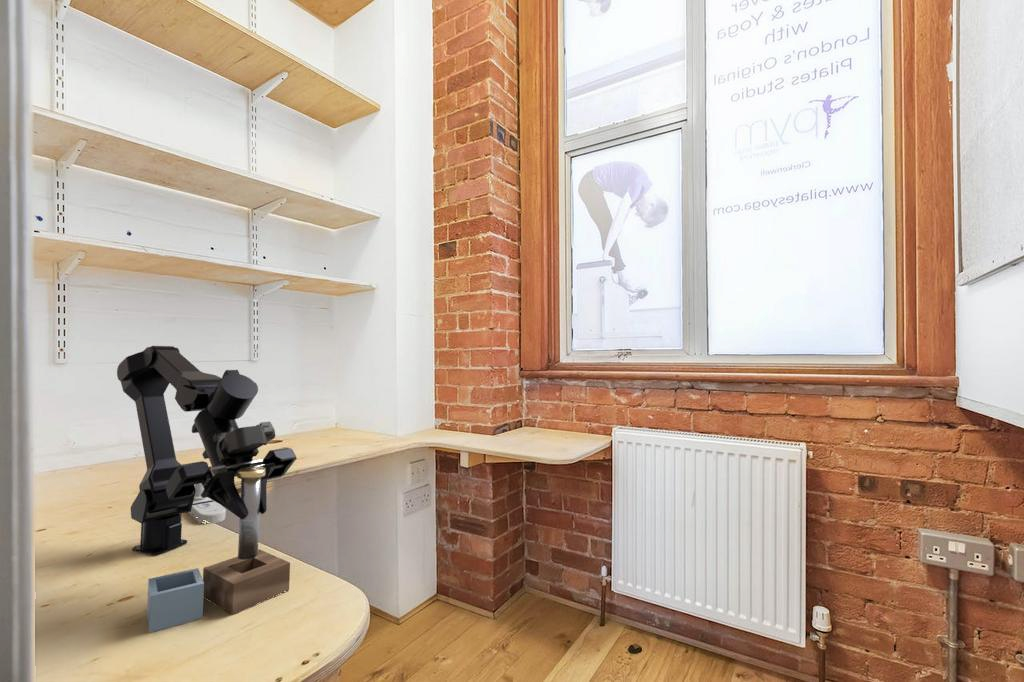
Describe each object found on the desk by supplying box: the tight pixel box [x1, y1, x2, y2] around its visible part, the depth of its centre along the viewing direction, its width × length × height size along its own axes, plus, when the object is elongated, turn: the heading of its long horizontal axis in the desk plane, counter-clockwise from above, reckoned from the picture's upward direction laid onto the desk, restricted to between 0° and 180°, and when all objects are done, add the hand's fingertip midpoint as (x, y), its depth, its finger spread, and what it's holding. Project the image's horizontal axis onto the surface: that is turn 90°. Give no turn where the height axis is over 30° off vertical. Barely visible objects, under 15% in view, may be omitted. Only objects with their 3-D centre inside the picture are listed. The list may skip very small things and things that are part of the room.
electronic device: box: [187, 483, 227, 525], centre depth 112 cm, size 5×10×15 cm
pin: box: [236, 467, 266, 560], centre depth 77 cm, size 4×4×14 cm
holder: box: [146, 567, 204, 634], centre depth 70 cm, size 6×6×5 cm
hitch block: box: [202, 548, 291, 616], centre depth 77 cm, size 9×9×4 cm
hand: (254, 515), depth 77 cm, fingers closed on pin, 3 cm apart
